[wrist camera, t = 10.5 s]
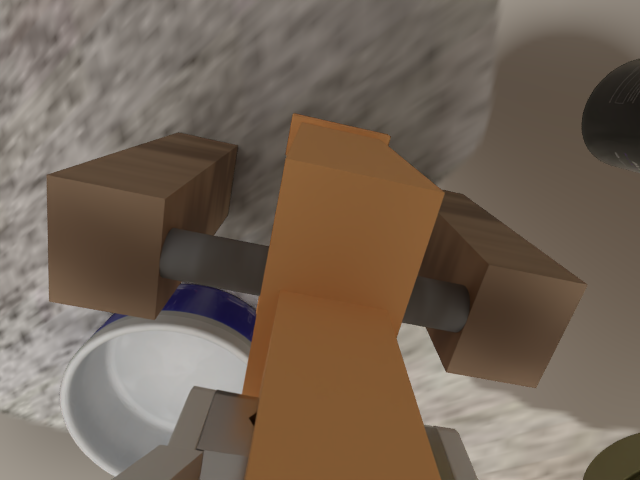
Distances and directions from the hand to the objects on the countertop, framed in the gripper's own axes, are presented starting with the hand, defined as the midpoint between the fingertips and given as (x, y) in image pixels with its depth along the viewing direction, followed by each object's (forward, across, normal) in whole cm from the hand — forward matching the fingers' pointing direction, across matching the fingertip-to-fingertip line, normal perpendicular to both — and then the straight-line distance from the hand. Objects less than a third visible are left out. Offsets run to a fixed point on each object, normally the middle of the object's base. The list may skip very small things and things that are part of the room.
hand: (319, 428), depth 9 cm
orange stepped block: (+15, 0, 0) cm, 15 cm away
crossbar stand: (+21, 0, 0) cm, 21 cm away
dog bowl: (+21, +7, +16) cm, 27 cm away
